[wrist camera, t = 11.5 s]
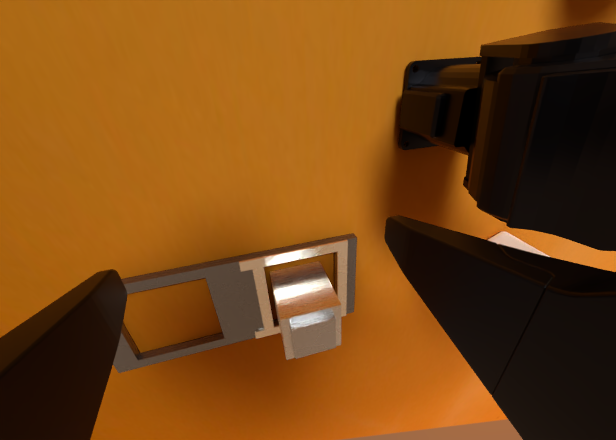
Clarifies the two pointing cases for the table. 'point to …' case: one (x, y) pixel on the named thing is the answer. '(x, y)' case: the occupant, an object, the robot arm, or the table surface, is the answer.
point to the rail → (238, 296)
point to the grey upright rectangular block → (306, 310)
